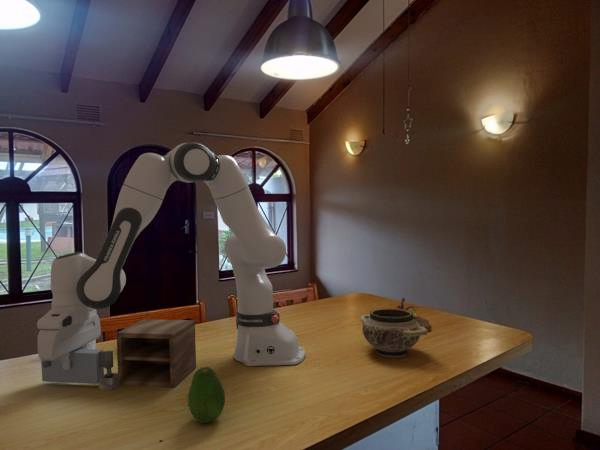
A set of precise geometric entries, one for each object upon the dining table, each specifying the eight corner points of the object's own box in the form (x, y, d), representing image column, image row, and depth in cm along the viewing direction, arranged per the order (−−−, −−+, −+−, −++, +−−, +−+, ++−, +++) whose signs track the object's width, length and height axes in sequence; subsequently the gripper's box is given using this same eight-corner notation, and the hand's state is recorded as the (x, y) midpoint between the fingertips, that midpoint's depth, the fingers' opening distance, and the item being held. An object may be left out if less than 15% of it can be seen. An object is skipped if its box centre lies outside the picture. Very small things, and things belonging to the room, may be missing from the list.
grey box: (38, 383, 114) (37, 353, 114) (50, 376, 118) (49, 347, 118) (107, 386, 111) (105, 355, 111) (116, 379, 115) (115, 350, 115)
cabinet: (196, 367, 126) (194, 320, 126) (169, 393, 109) (167, 338, 109) (135, 365, 129) (133, 318, 129) (99, 389, 112) (97, 336, 112)
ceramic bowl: (437, 368, 130) (444, 318, 132) (397, 366, 120) (406, 312, 122) (378, 347, 150) (385, 304, 152) (340, 344, 140) (348, 298, 142)
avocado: (181, 426, 92) (179, 371, 92) (202, 410, 100) (200, 359, 99) (213, 433, 89) (212, 376, 89) (232, 415, 97) (231, 362, 96)
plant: (433, 324, 170) (433, 295, 169) (426, 338, 152) (425, 306, 152) (383, 319, 178) (383, 292, 178) (370, 332, 160) (370, 302, 160)
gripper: (85, 304, 125) (87, 351, 126) (31, 324, 105) (34, 379, 106) (105, 305, 124) (107, 352, 125) (54, 324, 104) (57, 381, 105)
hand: (73, 365), depth 115 cm, fingers closed on grey box, 3 cm apart
